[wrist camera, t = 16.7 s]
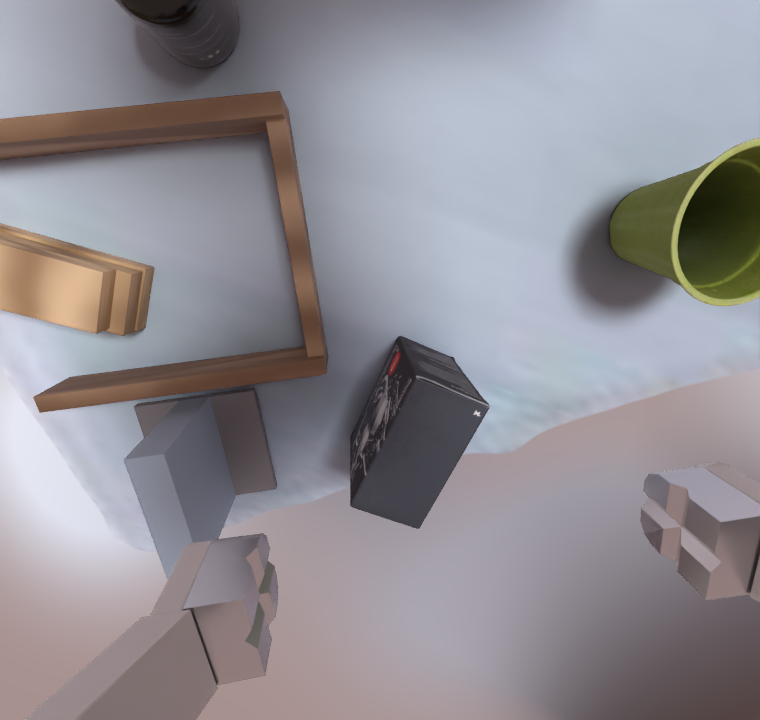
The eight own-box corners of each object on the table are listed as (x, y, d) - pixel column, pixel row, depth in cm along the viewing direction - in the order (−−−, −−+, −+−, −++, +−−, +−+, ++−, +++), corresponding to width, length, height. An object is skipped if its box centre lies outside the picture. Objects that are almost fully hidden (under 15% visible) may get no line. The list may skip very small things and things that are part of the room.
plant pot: (572, 282, 41) (652, 300, 31) (602, 155, 38) (703, 126, 27) (677, 290, 43) (788, 311, 32) (715, 168, 39) (854, 146, 28)
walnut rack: (-21, 141, 33) (-81, 127, 28) (288, 109, 34) (279, 91, 30) (75, 390, 40) (39, 412, 36) (327, 357, 42) (325, 374, 37)
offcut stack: (-14, 285, 37) (-79, 295, 31) (-12, 219, 35) (-80, 217, 30) (146, 326, 39) (113, 343, 34) (155, 266, 38) (122, 274, 32)
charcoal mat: (137, 403, 41) (133, 406, 41) (254, 387, 42) (253, 390, 41) (170, 500, 45) (167, 505, 44) (277, 484, 46) (275, 489, 45)
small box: (397, 332, 42) (417, 372, 30) (454, 357, 43) (494, 403, 32) (347, 438, 45) (348, 509, 34) (402, 457, 46) (421, 532, 35)
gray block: (179, 400, 41) (123, 459, 30) (209, 396, 41) (164, 453, 31) (208, 498, 45) (168, 581, 34) (236, 494, 45) (203, 575, 34)
